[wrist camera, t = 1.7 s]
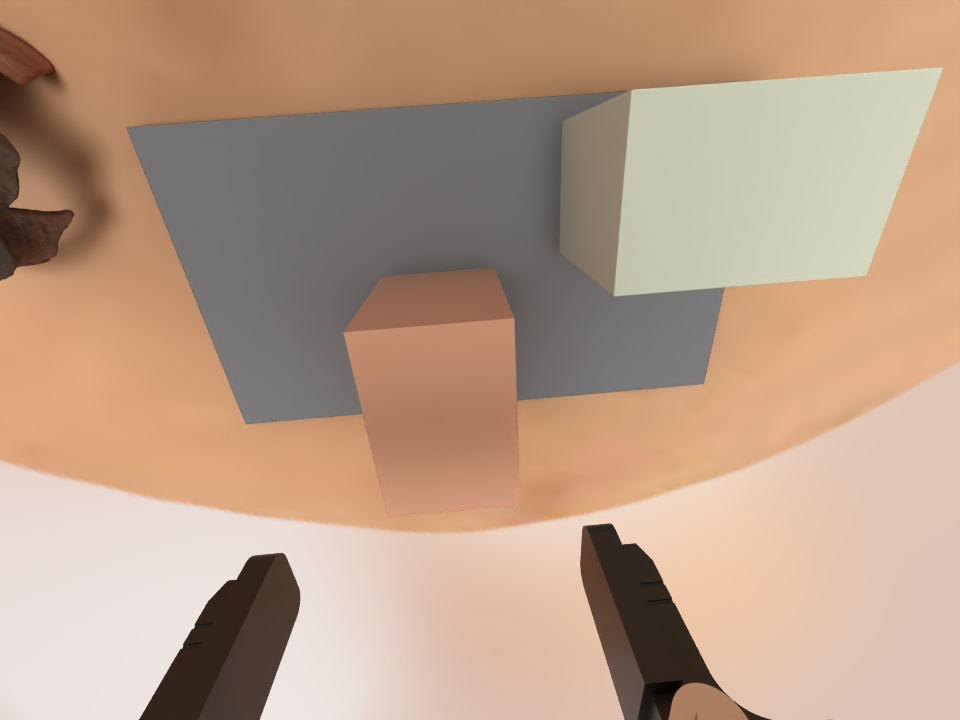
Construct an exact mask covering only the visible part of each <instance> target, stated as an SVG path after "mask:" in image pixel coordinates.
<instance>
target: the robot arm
mask: <svg viewBox="0 0 960 720" xmlns="http://www.w3.org/2000/svg"><path fill="white" fill-rule="evenodd" d="M580 566H581V576H582V581H583V585H584V589H585V592H586V595H587V599H588V602H589V605H590V609H591V612H592V615H593V618H594V621H595V625H596V628H597V631H598V634H599V638H600V641H601V644H602V647H603V651H604V654H605V657H606V660H607V664H608V667H609V670H610V673H611V677H612V680H613V683H614V686H615V690H616V693H617V696H618V699H619V702H620V706H621V709H622V712H623V715H624V719H625V720H770V719H766V718H764V717H761V716H758V715H756V714H753V713H751V712H750V711H748V710H746V709H745V708H743V707H741V706H740V705H739V704H737V703H736V702H734V701H733V700H732V699H731V698H730V697H729V696H728V695H727V694H726V693H725V692H724V691H723V690H722V689H721V688H720V687H719V685H718V684H717V683H716V681H715V680H714V679H713V677H712V675H711V674H710V672H709V670H708V668H707V666H706V664H705V662H704V660H703V658H702V656H701V655H700V652H699V650H698V649H697V647H696V645H695V643H694V641H693V639H692V637H691V635H690V633H689V631H688V629H687V627H686V625H685V623H684V621H683V619H682V617H681V615H680V613H679V611H678V609H677V607H676V605H675V603H673V601H672V597H671V596H670V593H669V592H668V590H667V588H666V586H665V585H664V584H663V580H662V578H661V576H660V574H659V572H658V570H657V568H656V566H655V564H654V562H653V560H652V559H651V558H650V557H649V556H648V555H647V554H646V553H645V552H644V551H643V550H642V549H641V548H639V546H638V545H637V544H636V543H635V544H624V545H622V543H621V541H620V538H619V536H618V534H617V532H616V530H615V528H614V526H613V525H612V524H600V525H589V526H583V530H582V544H581V560H580ZM299 606H300V590H299V587H298V585H297V582H296V579H295V577H294V575H293V572H292V570H291V567H290V565H289V562H288V560H287V558H286V556H285V554H283V553H276V554H266V555H255V556H252V557H250V558H249V559H248V560H247V562H246V563H245V566H244V567H243V569H242V571H241V573H240V574H239V576H238V578H237V580H229V581H227V582H226V583H225V584H224V585H223V586H222V587H221V589H220V590H219V591H218V592H217V593H216V594H215V595H214V596H213V597H212V598H211V599H210V600H209V601H208V603H207V604H206V606H205V608H204V609H203V611H202V613H201V615H200V616H199V618H198V620H197V621H196V623H195V628H194V629H192V630H191V632H190V634H189V635H188V637H187V639H186V640H185V642H184V644H183V648H182V649H180V651H179V653H178V654H177V656H176V657H175V659H174V661H173V663H172V664H171V666H170V668H169V670H168V671H167V673H166V675H165V676H164V678H163V680H162V682H161V683H160V685H159V687H158V688H157V690H156V692H155V694H154V695H153V697H152V699H151V700H150V702H149V704H148V705H147V707H146V709H145V711H144V712H143V714H142V716H141V717H140V719H139V720H260V717H261V715H262V712H263V709H264V706H265V703H266V701H267V698H268V695H269V692H270V689H271V687H272V684H273V681H274V678H275V676H276V673H277V670H278V667H279V665H280V662H281V659H282V656H283V654H284V651H285V648H286V645H287V643H288V640H289V637H290V634H291V632H292V628H293V626H294V623H295V621H296V618H297V615H298V611H299Z"/></svg>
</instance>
